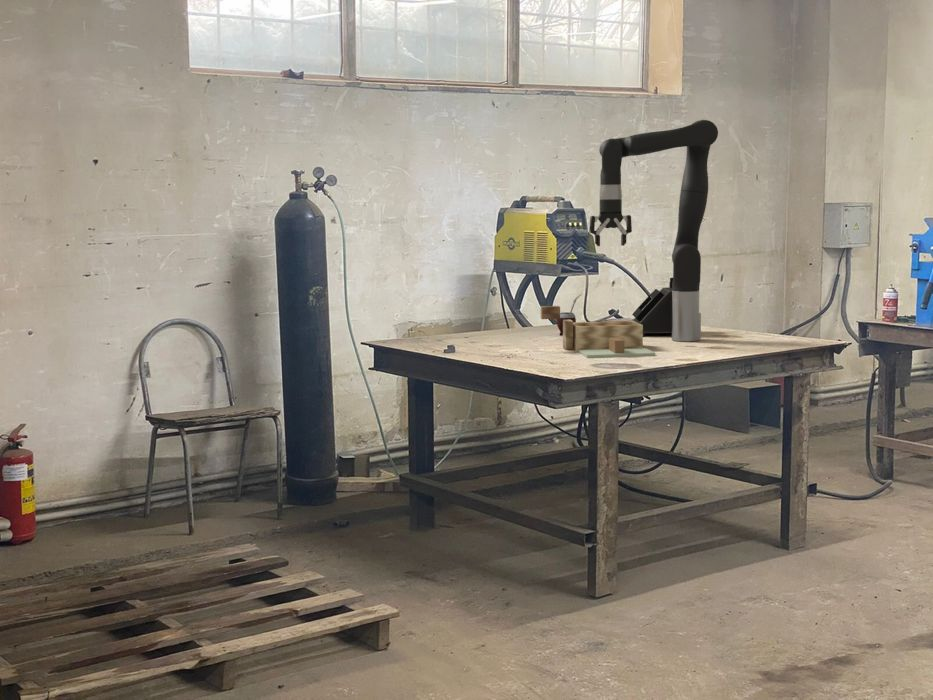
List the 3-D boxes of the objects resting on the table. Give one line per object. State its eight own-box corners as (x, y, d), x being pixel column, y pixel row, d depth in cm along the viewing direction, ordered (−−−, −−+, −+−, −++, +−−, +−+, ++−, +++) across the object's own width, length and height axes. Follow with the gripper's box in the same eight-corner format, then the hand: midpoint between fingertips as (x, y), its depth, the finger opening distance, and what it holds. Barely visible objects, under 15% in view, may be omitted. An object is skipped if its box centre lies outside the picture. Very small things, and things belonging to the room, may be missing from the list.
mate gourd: (552, 334, 414) (552, 294, 412) (567, 333, 419) (567, 292, 417) (567, 336, 408) (567, 295, 406) (582, 334, 413) (582, 293, 411)
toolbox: (633, 344, 384) (634, 316, 383) (642, 349, 372) (642, 320, 371) (561, 346, 382) (561, 318, 381) (567, 351, 370) (567, 322, 369)
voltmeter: (631, 331, 421) (631, 277, 418) (675, 331, 420) (676, 277, 418) (636, 337, 405) (636, 281, 402) (682, 336, 404) (682, 280, 402)
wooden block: (558, 317, 376) (558, 305, 375) (560, 318, 373) (560, 306, 372) (540, 318, 375) (540, 306, 375) (542, 319, 372) (542, 307, 372)
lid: (645, 352, 369) (645, 335, 369) (655, 357, 358) (655, 340, 357) (578, 354, 367) (578, 337, 366) (587, 359, 355) (586, 342, 354)
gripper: (628, 197, 391) (628, 245, 393) (587, 198, 389) (587, 245, 392) (633, 197, 383) (633, 246, 386) (592, 198, 382) (592, 246, 384)
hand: (610, 245), depth 389 cm, fingers open, 8 cm apart
